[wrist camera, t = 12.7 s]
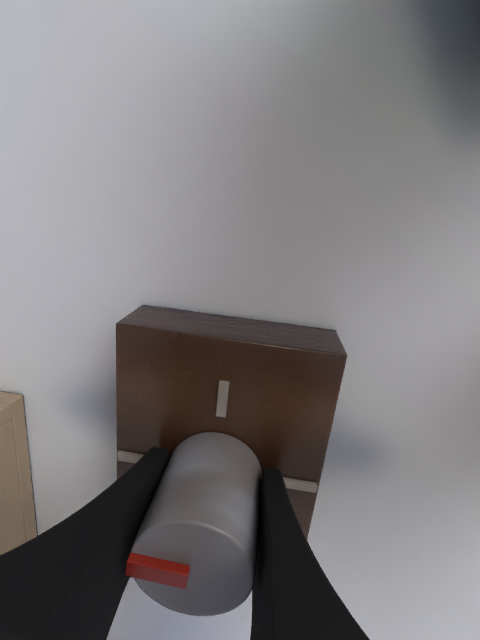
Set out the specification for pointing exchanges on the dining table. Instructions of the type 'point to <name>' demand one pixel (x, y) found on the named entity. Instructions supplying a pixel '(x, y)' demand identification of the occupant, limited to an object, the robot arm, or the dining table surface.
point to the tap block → (229, 390)
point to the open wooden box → (15, 476)
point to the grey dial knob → (201, 528)
